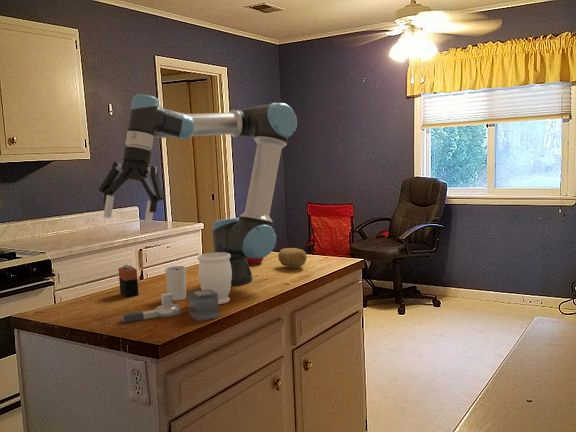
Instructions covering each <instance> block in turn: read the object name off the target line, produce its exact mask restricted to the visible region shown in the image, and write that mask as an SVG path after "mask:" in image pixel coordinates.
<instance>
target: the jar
mask: <svg viewBox="0 0 576 432" xmlns="http://www.w3.org/2000/svg"><path fill="white" fill-rule="evenodd" d="M230 258H231V254H229V253H223V252H215V253H214V252H207V253H206V252H205V253H201V254H199V255H197V260H198V262H199V264H198V280H199V285H200V289H201V290H206V289H211V290H212V291H214V292H216V293H218V306H219V305H223V304H227V303H229V302H230V301H231V298H230V297H229V295H230V292H231V289H232V288H231V287H232V286H231V280H232V269H231V264H230V261H229V259H230Z"/></svg>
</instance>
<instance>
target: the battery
mask: <svg viewBox="0 0 576 432" xmlns="http://www.w3.org/2000/svg"><path fill="white" fill-rule="evenodd" d="M138 279H139V278H138V271H137V268H134V266H133V265H128V264H124V265H123V266H121V267H119V268H118V280H119V291H120V294H121V295H122V296H123V297H126V298H129V297H136V296H139V282H138Z"/></svg>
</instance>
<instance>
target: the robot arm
mask: <svg viewBox="0 0 576 432" xmlns="http://www.w3.org/2000/svg"><path fill="white" fill-rule="evenodd" d="M129 110H130V112H129V120H128V126H127V133H126V139H125V147H124V152H123V157H122V158H123V162H122V163H120V162H116V161H114V162H113V163H112V166H111V169H110V171H109V173H108V174H107V176H105V179H103V180H104V181H103V182H102V184H101V185H100V187H99V189H98V191H99V192H100V193H102V194H103V195H104V197H103V202H102V203H103V206H104V210H103V216H102V217H103V218H107V219H112V213H113V207H114V201H115V200H114V199H115V196H114V194H115V193H116V191H117V190H118V189H119V188H120V187H121V186H122V185H123V184H124V183H125V182H126V181H128V180H130V181H131V180H132V181H134V180H135V181H138V182H140V183H141V184H142V186H143V188H144V190H145V192H146V193H147V196H148V197H149V200H147V202H146V203H147V204H146V209H145V217H144V224H149V225H152V224H153V218H154V217H153V216H154V213H156V212H157V206H158V202H160V201H164V200H165V195H164V191H163V188H162V183H161V181H160V180H161V179H160V177H159V167H156V166H155V165H151V166H149V165H150V162H151V157H152V151H151V150H152V149H153V144H154V139H165V138H166V139H167V138H177V139H179V140H180V139H181V140H188V139H189V138H190V137H204V136H206V137H207V136H223V135H225V136H226V135H230V136H231V137H232V138H240V137H242V138H253V140H254V141H255V143H256V149H255V155H254V159H253V160H254V161H253V166H252V171H251V176H250V182H249V187H248V191H247V192H248V193H247V197H246V205H245V207H244V208H245V210H244V211H243V213H241V214H240V215H239V216H238V217H234V218H233V217H232V218H227V219H225V218H224V219H217V220H215V221H213V223H212V230H211V232H212V240H213V253H215V252H223V253H229V254H231V258H230V259H229V261H230V264H231V269H232V280H231V287H233V286H239V285H240V286H241V285H245V284H248V283H250V282H252V281H253V273H252V271H251V268H250V265H248V262H247V259H246V257H248V258H263V259H264V258H265V257H267V256H268V255H270V254H271V253H272V252H273V250H274V249H275V247H276V243H277V234H276V233H275V229H274V228H273V220H272V218H271V217H270V215H271V208H272V203H273V198H274V197H273V196H274V192H275V186H276V181H277V175H278V169H279V165H280V161H281V154H282V149H284V148H285V147H286V146H287V145H288V139H289V138H290V137H291V136H292V135H293V134H294V133H295V132H296V130H297V127H298V120H297V115H296V113H295V112H294V109H293V108H292V107H291V106H290V105H288V104H287V103H285V102H271V103H268V104H262V105H255V106H251V107H247V108H241V109H232V110H230V111H229V112H220V113H219V112H213V113H212V112H209V113H207V112H206V113H184V112H179V111H175V110H171V109H168V108H164V107H162V106H160V100H159V98H157V97H155V96H153V95H150V94H142V93H139V94H135V95H133V97H132V100H131V105H130V109H129ZM120 171H122V172H121V173H120ZM119 173H120V174H119ZM148 173H149V175H150V179H151V183H152V184H151V183H150V179H149V177H148V175H147V174H148ZM117 176H118V177H117Z"/></svg>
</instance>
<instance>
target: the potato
mask: <svg viewBox="0 0 576 432" xmlns="http://www.w3.org/2000/svg"><path fill="white" fill-rule="evenodd" d="M277 257H278V261H279V262H280V263H281V266H284V267H286V268H288V269H298V268H301V267H302V266H304V265H305V263H306V261H307V253H306V251H305V250H303V249H300V248H297V247H291V248H290V247H285V248H282V249H280V251H279V252H278V256H277Z"/></svg>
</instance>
